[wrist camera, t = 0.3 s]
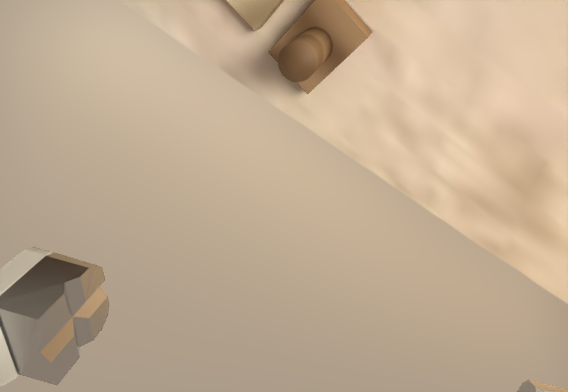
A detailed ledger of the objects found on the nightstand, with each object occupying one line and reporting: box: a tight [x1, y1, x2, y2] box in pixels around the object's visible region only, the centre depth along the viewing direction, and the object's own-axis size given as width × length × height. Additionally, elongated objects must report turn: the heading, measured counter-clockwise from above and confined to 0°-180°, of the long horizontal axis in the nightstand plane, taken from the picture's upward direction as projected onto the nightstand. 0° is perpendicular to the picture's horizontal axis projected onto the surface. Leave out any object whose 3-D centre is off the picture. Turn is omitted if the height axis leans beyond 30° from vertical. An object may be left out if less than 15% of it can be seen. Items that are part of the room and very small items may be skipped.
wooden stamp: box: [269, 0, 373, 94], centre depth 41 cm, size 8×6×8 cm
